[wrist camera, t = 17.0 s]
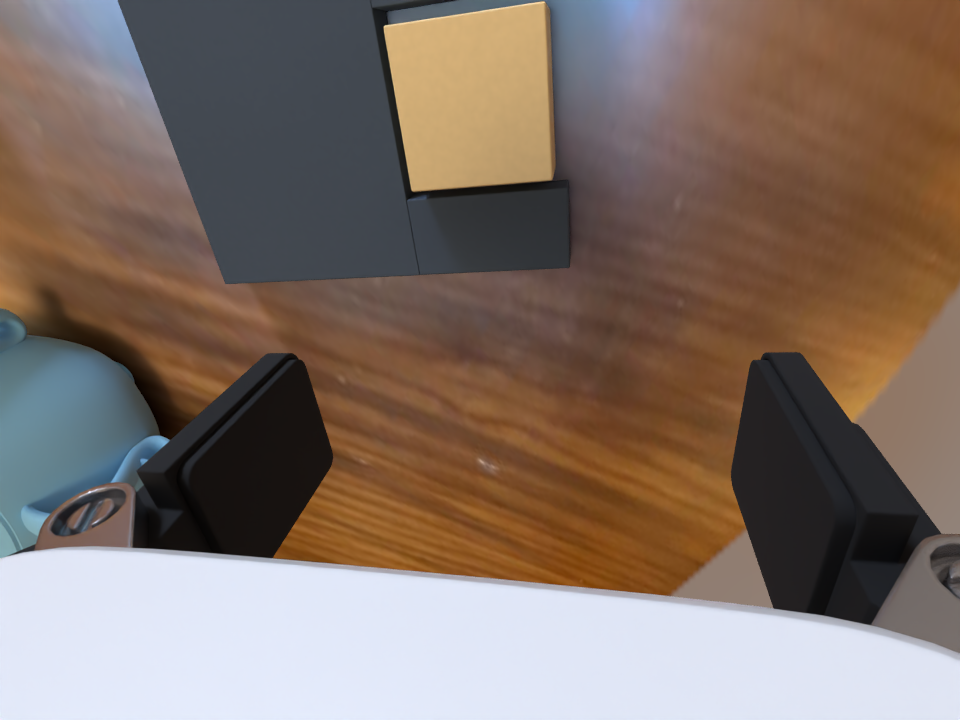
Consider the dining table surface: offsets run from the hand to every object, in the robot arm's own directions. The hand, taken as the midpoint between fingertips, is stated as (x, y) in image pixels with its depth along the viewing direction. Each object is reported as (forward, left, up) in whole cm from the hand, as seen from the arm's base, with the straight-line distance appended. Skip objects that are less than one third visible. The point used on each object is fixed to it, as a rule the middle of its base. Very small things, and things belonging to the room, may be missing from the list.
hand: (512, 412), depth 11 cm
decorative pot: (+36, +13, -18) cm, 43 cm away
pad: (+3, -5, -18) cm, 19 cm away
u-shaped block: (+9, -5, -18) cm, 21 cm away
